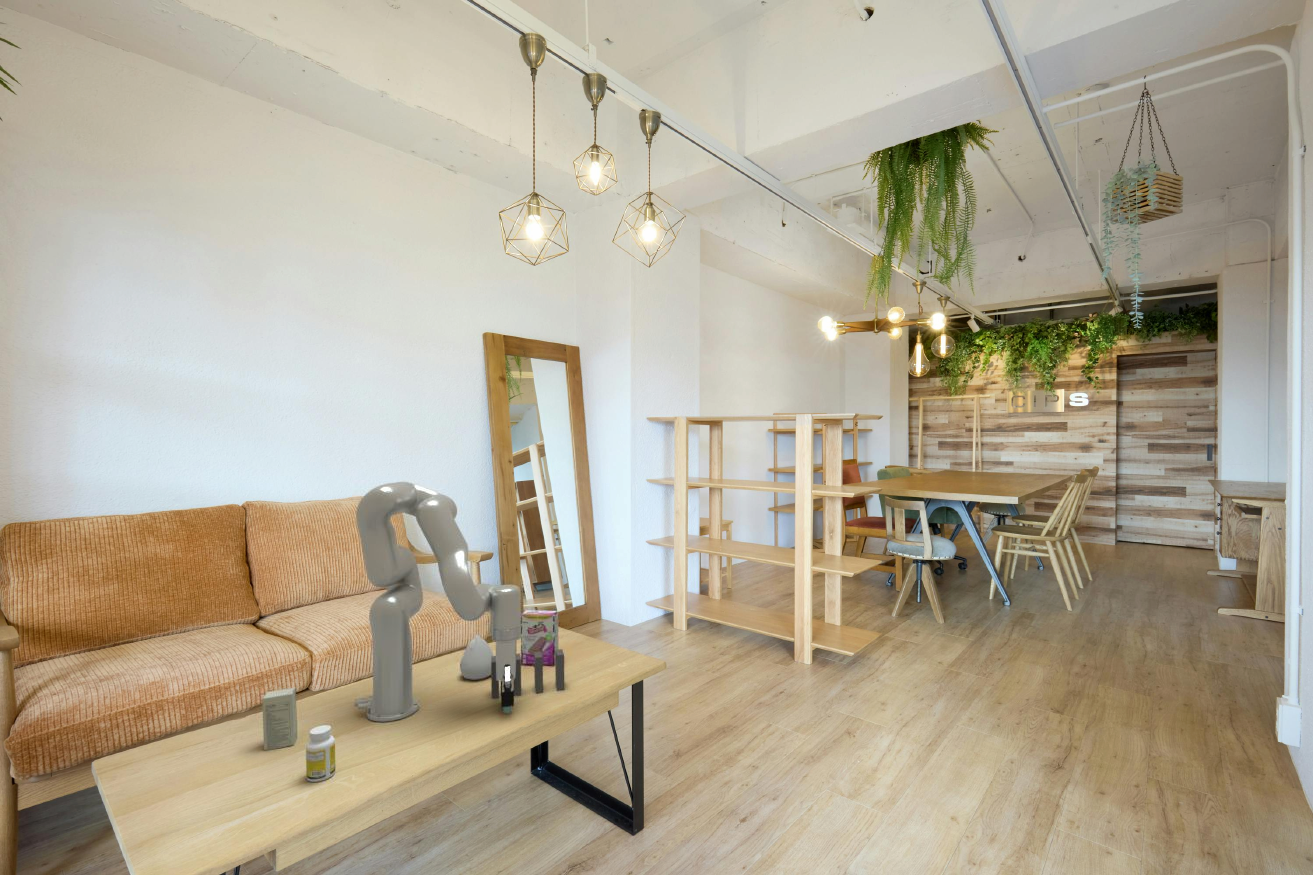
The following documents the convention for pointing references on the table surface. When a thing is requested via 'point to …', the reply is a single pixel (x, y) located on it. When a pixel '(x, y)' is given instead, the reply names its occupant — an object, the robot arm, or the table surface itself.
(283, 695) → the skincare box
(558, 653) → the domino
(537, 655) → the domino
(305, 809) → the table surface
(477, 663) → the grey teardrop lump
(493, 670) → the domino
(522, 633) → the candy bar box
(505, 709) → the domino
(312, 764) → the supplement bottle
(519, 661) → the domino
